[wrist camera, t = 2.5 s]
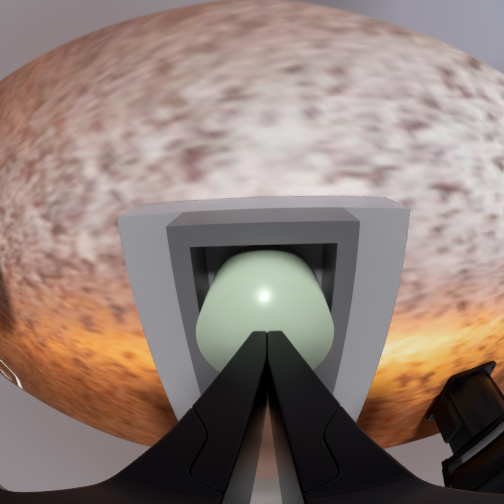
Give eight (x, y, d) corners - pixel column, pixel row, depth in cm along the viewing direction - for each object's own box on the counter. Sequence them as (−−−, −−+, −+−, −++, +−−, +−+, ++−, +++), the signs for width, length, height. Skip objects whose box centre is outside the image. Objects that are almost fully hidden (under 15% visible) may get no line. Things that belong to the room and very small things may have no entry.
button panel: (386, 197, 12) (436, 221, 8) (340, 422, 18) (348, 466, 14) (141, 204, 13) (91, 231, 8) (196, 424, 19) (186, 467, 15)
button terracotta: (314, 388, 10) (322, 441, 8) (305, 433, 12) (309, 476, 9) (219, 389, 10) (209, 442, 8) (229, 434, 12) (223, 477, 9)
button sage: (321, 241, 9) (341, 276, 7) (314, 334, 11) (325, 382, 8) (205, 245, 9) (185, 280, 7) (217, 336, 11) (206, 384, 8)
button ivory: (302, 449, 12) (304, 487, 10) (296, 471, 14) (298, 503, 11) (232, 450, 12) (228, 488, 10) (238, 472, 14) (235, 503, 11)
